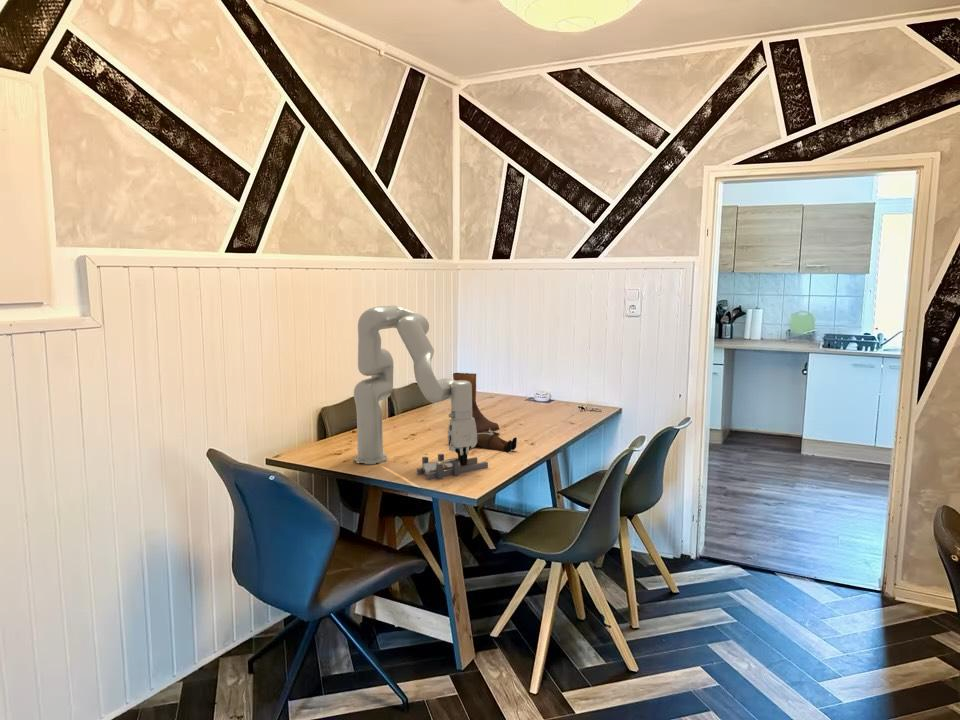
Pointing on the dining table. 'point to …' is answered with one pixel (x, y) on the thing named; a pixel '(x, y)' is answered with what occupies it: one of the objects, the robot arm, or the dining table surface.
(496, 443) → the toy
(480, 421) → the boot
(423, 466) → the steel tube
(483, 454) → the dining table surface
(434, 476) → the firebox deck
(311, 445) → the dining table surface
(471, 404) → the robot arm
